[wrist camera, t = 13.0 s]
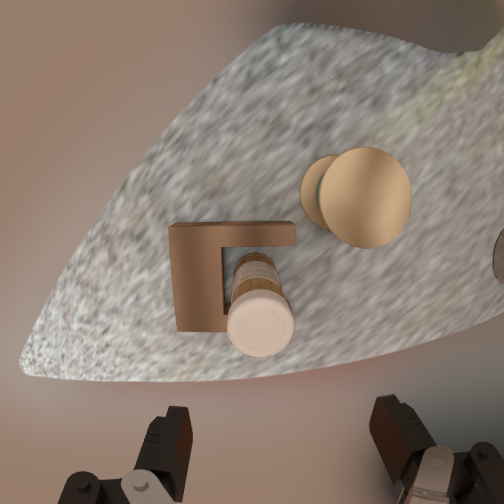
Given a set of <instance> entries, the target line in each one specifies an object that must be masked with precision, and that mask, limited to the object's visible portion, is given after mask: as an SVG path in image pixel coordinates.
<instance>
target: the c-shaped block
mask: <svg viewBox="0 0 504 504" xmlns="http://www.w3.org/2000/svg"><path fill="white" fill-rule="evenodd" d="M168 229H169V246H170V261H171V274H172V286H173V296H174V306H175V316H176V325H177V331H179V332H227V318H228V312H229V309H230V307H231V304H225V287H224V258H223V247H259V246H295V225H294V224H293V223H292V222H291V221H254V222H198V223H175V224H173V225H171V226H170V227H168ZM287 303H288V305H289V302H287ZM289 307H290V305H289ZM290 309H291V308H290ZM291 312H292V311H291Z"/></svg>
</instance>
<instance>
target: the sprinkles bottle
mask: <svg viewBox="0 0 504 504" xmlns="http://www.w3.org/2000/svg"><path fill="white" fill-rule="evenodd" d="M227 332H228V336H229V339H230V341H231V342H232V344H233V345H234V346H235V347H236V348H237V349H238V350H239V351H241V352H242V353H244V354H247V355H250V356H254V357H266V356H270V355H273V354H276V353H278V352H279V351H281V350H282V349H283V348H285V347H286V346H287V344H288V343H289V342H290V340H291V338H292V336H293V333H294V319H293V315H292V312H291V309H290V307H289V305H288V303H287V302H286V300H285V299H284V295H283V292H282V288H281V284H280V281H279V279H278V276H277V273H276V269H275V266H274V264H273V263H272V261H271V260H270V259H269V258H268V257H266V256H265V255H262V254H257V253H252V254H248V255H246V256H244V257H242V258H241V259H240V260H239V261H238V262H237V264H236V266H235V269H234V280H233V288H232V297H231V307H230V309H229V312H228V318H227Z"/></svg>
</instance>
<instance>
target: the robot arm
mask: <svg viewBox="0 0 504 504" xmlns="http://www.w3.org/2000/svg"><path fill="white" fill-rule="evenodd" d="M494 271H495V275H496V277H497V279H498V280H499V281H500V282H502V283H504V230H503V232H502V233H501V235H500V237H499V239H498V241H497V244H496V247H495V252H494ZM369 428H370V433H371V436H372V438H373V440H374V442H375V445H376V447H377V449H378V451H379V453H380V455H381V458H382V460H383V463H384V465H385V467H386V469H387V472H388V474H389V476H390V479H391V481H392V483H393V485H398V484H401V483H403V485H404V489H403V491H402V493H401V495H400V497H399V500H398V502H397V504H448V503H450V504H504V460H503V458H502V457H501V455H500V454H499V452H498V451H497V449H496V448H495V447H494V446H493V445H492V444H490V443H488V442H479V443H476V444H475V445H474V446H473V447H472V449H471V450H470V452H460V453H452V452H451V451H450V450H449V449H448V448H446V447H443V446H437V445H436V443H435V441H434V440H433V438H432V437H431V435H430V434H429V432H428V431H427V429H426V427H425V426H424V424H422V421H421V420H420V418H418V415H417V414H416V412H415V411H414V409H413V408H411V407H410V406H409V405H407V404H406V403H402V404H401V403H400V402H399V400H398V399H397V397H396V396H395V395H394V394H391V395H386V396H381V397H377V399H376V401H375V405H374V408H373V412H372V415H371V418H370V422H369ZM192 443H193V432H192V427H191V421H190V416H189V411H188V408H187V407H179V406H169V408H168V411H167V415H166V417H159V416H158V417H156V418H155V419H154V420H153V421H152V422H151V423H150V425H149V428H148V430H147V435H146V436H145V439H144V442H143V445H142V447H141V450H140V453H139V456H138V459H137V462H136V465H135V467H134V469H133V471H130V472H128V473H127V474H126V475H125V476H124V477H123V478H120V479H111V480H99V479H98V478H97V477H96V476H95V475H94V474H92V473H90V472H85V471H82V472H76V473H74V474H72V475H71V476H70V477H69V478H68V479H67V482H66V484H65V486H64V489H63V492H62V494H61V496H60V499H59V501H58V504H175V503H174V502H182V499H183V494H184V488H185V482H186V477H187V471H188V465H189V460H190V454H191V448H192ZM477 485H478V486H477ZM478 487H479V488H478ZM479 489H480V490H481V492H482V494H483V496H484V497H483V496H482V494H481V492H480V490H479Z"/></svg>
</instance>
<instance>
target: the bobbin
mask: <svg viewBox="0 0 504 504" xmlns="http://www.w3.org/2000/svg"><path fill="white" fill-rule="evenodd" d="M300 199H301V203H302V206H303V209H304V211H305V213H306V214H307V216H308V217H309V218H310V219H311V220H312V221H313V222H314V223H315V224H317V225H318V226H320V227H321V228H323V229H326V230H329V231H331V232H332V233H333V234H334V235H336V236H337V237H338V238H339V239H341V240H342V241H344V242H345V243H347V244H349V245H351V246H354V247H358V248H365V249H369V248H376V247H380V246H383V245H385V244H387V243H389V242H390V241H392V240H393V239H394V238H395V237H396V236H397V235H398V234H399V233H400V232H401V231H402V230H403V228H404V226H405V225H406V223H407V221H408V218H409V215H410V212H411V207H412V190H411V185H410V181H409V179H408V176H407V174H406V172H405V170H404V169H403V167H402V166H401V165H400V163H399V162H398V161H397V160H396V159H395V158H393V157H392V156H391V155H389V154H388V153H386V152H384V151H382V150H379V149H376V148H369V147H363V148H357V149H353V150H349V151H347V152H345V153H343V154H341V155H333V156H328V157H325V158H322V159H320V160H318V161H316V162H315V163H314V164H312V165H311V166H310V167H309V169H308V170H307V171H306V173H305V175H304V177H303V179H302V182H301V187H300Z"/></svg>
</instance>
